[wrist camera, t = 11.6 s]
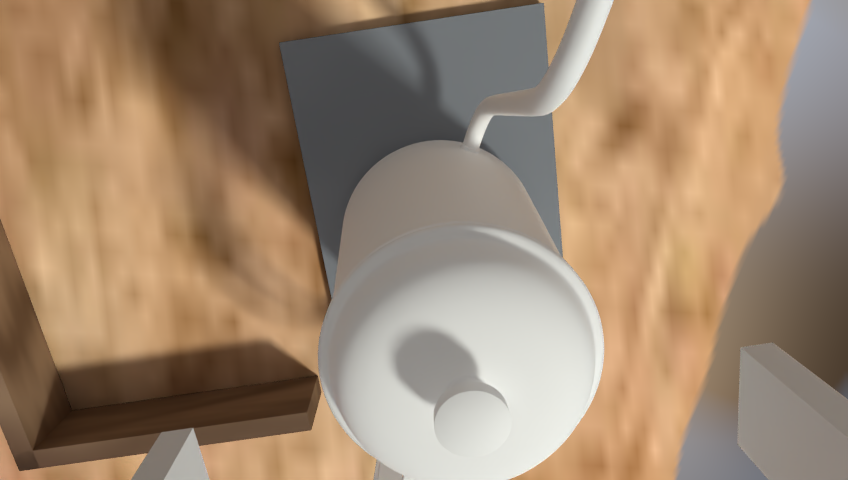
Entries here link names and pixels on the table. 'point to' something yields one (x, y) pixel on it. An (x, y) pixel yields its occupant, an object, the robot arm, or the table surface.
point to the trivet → (417, 104)
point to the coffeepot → (461, 303)
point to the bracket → (122, 423)
